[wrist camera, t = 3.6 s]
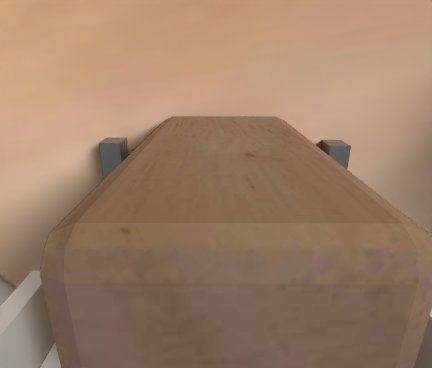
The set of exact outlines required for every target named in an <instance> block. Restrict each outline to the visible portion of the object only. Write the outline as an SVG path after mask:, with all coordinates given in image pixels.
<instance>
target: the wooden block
mask: <svg viewBox="0 0 432 368" xmlns="http://www.w3.org/2000/svg"><path fill="white" fill-rule="evenodd" d="M40 278H41V282H42V286H43V291H44V295H45V299H46V303H47V308H48V312H49V316H50V321H51V325H52V329H53V333H54V338H55V342H56V346H57V350H58V354H59V359H60V363H61V367H62V368H414V365H415V362H416V359H417V355H418V352H419V349H420V346H421V342H422V339H423V336H424V332H425V329H426V326H427V323H428V319H429V316H430V313H431V309H432V238H431V236H430V234H428V233H427V232H426V231H424V230H423V229H422V228H421V227H419V226H418V225H417V224H416V223H414V222H413V221H412V220H410V219H409V218H408V217H407V216H405V215H404V214H403V213H401V212H400V211H399V210H398V209H396V208H395V207H394V206H393V205H391V204H390V203H389V202H387V201H386V200H385V199H384V198H382V197H381V196H380V195H379V194H377V193H376V192H375V191H373V190H372V189H371V188H370V187H368V186H367V185H366V184H364V183H363V182H362V181H361V180H359V179H358V178H357V177H356V176H354V175H353V174H352V173H350V172H349V171H348V170H347V169H345V168H344V167H343V166H342V165H340V164H339V163H338V162H336V161H335V160H334V159H333V158H331V157H330V156H329V155H327V154H326V153H325V152H324V151H322V150H321V149H320V148H319V147H317V146H316V145H315V144H313V143H312V142H311V141H310V140H308V139H307V138H306V137H305V136H303V135H302V134H301V133H299V132H298V131H297V130H296V129H294V128H293V127H292V126H291V125H289V124H288V123H287V122H285V121H284V120H282V119H280V118H277V117H175V116H174V117H171V118H169V119H167V120H165V121H164V122H163V123H162V124H161V125H160V126H158V127H157V128H156V129H155V130H154V131H153V132H152V133H151V134H150V135H149V136H148V137H147V138H146V139H145V140H144V141H143V142H142V143H141V144H140V145H139V146H138V147H137V148H136V149H135V150H134V151H133V152H132V153H131V154H130V155H129V156H128V157H127V158H126V159H125V160H124V161H123V162H122V163H121V164H120V165H119V166H118V167H117V168H116V169H114V170H113V171H112V172H111V173H110V174H109V175H108V176H107V177H106V178H105V179H104V180H103V181H102V182H101V183H100V184H99V185H98V186H97V187H96V188H95V189H94V190H93V191H92V192H91V193H90V194H89V195H88V196H87V197H86V198H85V199H84V200H83V201H82V202H81V203H80V204H79V205H78V206H77V207H76V208H75V209H74V210H73V211H72V212H71V213H69V214H68V215H67V216H66V217H65V218H64V219H63V220H62V221H61V222H60V223H59V224H58V225H57V226H56V227H55V228H54V229H53V230H52V231H51V232H50V233H49V236H48V239H47V242H46V244H45V247H44V250H43V256H42V263H41V269H40Z"/></svg>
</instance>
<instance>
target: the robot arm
mask: <svg viewBox="0 0 432 368" xmlns="http://www.w3.org/2000/svg"><path fill="white" fill-rule="evenodd" d="M54 342H55V338H54V333H53V329H52V325H51V321H50V316H49V312H48V308H47V303H46V299H45V295H44V291H43V286H42V282H41V278H40V270H32V271H31V272H30V274H29V275H28V276H27V277H26V278H25V279H24V280H23V281H22V283H21V284H20V285H19V286H18V287H17V288H16V289H15V290H14V291H13V293H12V294H11V295H10V296H9V297H8V298H7V299H6V301H5V302H4V303H3V304H2V305H1V306H0V368H40V367H41V365H42V363H43V361H44V360H45V358H46V356H47V355H48V353H49V351H50V349H51V348H52V346H53V344H54ZM414 368H432V309H431V313H430V316H429V319H428V323H427V326H426V329H425V332H424V336H423V339H422V342H421V346H420V349H419V352H418V355H417V359H416V362H415V365H414Z"/></svg>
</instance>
